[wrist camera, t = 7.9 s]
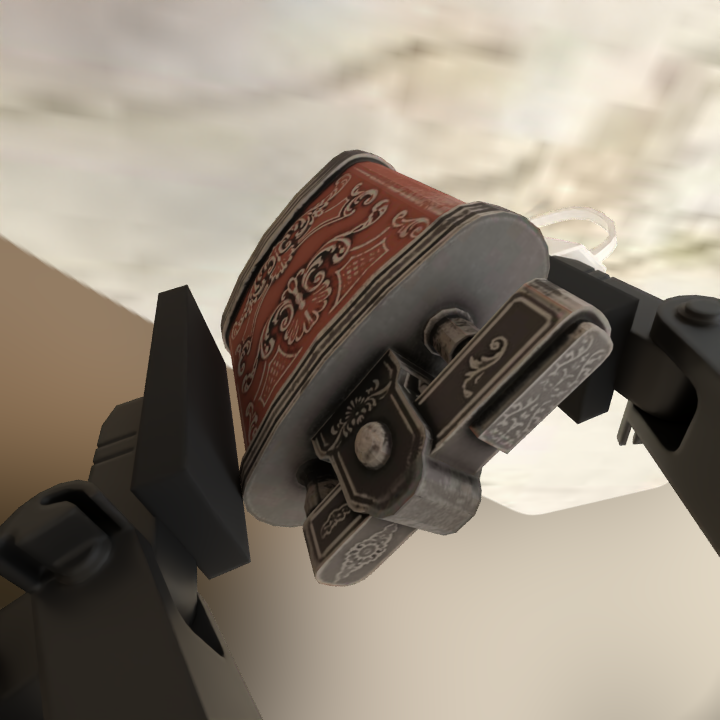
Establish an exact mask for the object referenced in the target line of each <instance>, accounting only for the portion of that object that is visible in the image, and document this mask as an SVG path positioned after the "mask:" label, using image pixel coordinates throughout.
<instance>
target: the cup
mask: <svg viewBox="0 0 720 720" xmlns="http://www.w3.org/2000/svg"><path fill="white" fill-rule="evenodd" d="M571 219H580V220H590V221H592V222H594V223H596V224H598V225H600V226H601V227H602V228H603V229H605V230H606V231H607V232H608V233H609V236H608V237H607V239H606V240H605V242H603V243H601V244H600V245H598V246H596V247H594V248H593V249H591V250H588V249H587V248H586V247H585V246H584V245H583V244H580V243H575V242H571V241H566V240H561V239H556V238H551V237H545V236H543V237H544V239H545V241H546V243H547V245H548V250H549V255H550V256H553V255H556V256H561V257H566V258H570V259H575V260H578V261H580V262H582V263H585V264H587V265H589V266H591V267H593V268H595V271H596V270H600V271H602V272H604V273H605V272H606V267H605V266H604V265H603V264H602V263H601V262H602V261H603V260H604V259H606V258H607V257H608V256H609V255H610V254H611V253H612V252H613V251H614V249H615V248H616V246H617V237H616V230H615V223H614V221H613V220H611V219H610V218H609V217H608V216H606V215H605V214H604V213H603V212H600V211H598V210H596V209H593V208H591V207H579V206H572V207H567V208H561V209H556V210H553V211H550V212H546V213H543V214H540V215H537V216H534V217H531V218H528V220H529V221H530V222H532V223H533V224H534V225H535V226H537V227H538V228H539V227H542V226H546V225H549V224H553V223H556V222H561V221H566V220H571Z"/></svg>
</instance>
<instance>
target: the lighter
mask: <svg viewBox="0 0 720 720" xmlns="http://www.w3.org/2000/svg"><path fill="white" fill-rule="evenodd" d="M549 269H550V263H549V250H548V245H547V243H546V241H545V239H544V237H543V235H542V233H541V231H540V229H539V228H538V227H537V226H535V225H534V224H533V223H532V222H530V221H529V220H528V219H527V218H526V217H524V216H522V215H519V214H517V213H515V212H512V211H510V210H507V209H505V208H502V207H500V206H497V205H493V204H489V203H485V202H480V201H477V202H472V203H465V202H463V201H461V200H458V199H456V198H454V197H452V196H449V195H447V194H445V193H443V192H441V191H438V190H436V189H434V188H432V187H429V186H427V185H425V184H423V183H421V182H418V181H416V180H414V179H412V178H409V177H407V176H405V175H403V174H401V173H398V172H396V170H395V169H394V168H393V166H392V165H391V164H389V163H388V162H386V161H385V160H384V159H382V158H381V157H379V156H376V155H374V154H372V153H368V152H365V151H361V150H350V151H344V152H342V153H341V154H339V155H337V156H336V157H334V158H333V159H332V160H331V161H330V162H329V163H328V164H327V165H326V166H325V167H324V168H323V169H321V170H320V171H319V172H318V173H317V174H316V175H315V176H314V177H313V178H312V179H311V180H310V181H309V182H308V183H307V184H306V185H305V186H304V187H303V188H302V189H301V190H300V191H299V192H298V193H297V194H296V195H295V196H294V197H293V199H292V200H291V201H290V202H289V204H288V205H287V206H286V207H285V209H284V210H283V211H282V212H281V213H280V215H279V216H278V217H277V218H276V220H275V221H274V222H273V223H272V225H271V226H270V227H269V228H268V230H267V231H266V232H265V233H264V235H263V236H262V238H261V240H260V241H259V243H258V245H257V247H256V248H255V250H254V252H253V253H252V255H251V257H250V258H249V260H248V262H247V263H246V265H245V267H244V269H243V270H242V272H241V274H240V275H239V277H238V280H237V282H236V284H235V287H234V289H233V291H232V294H231V296H230V298H229V301H228V303H227V305H226V308H225V310H224V312H223V315H222V320H221V332H222V339H223V342H224V345H225V348H226V350H227V351H228V352H229V353H230V355H231V358H232V365H233V371H234V377H235V385H236V391H237V398H238V404H239V411H240V417H241V424H242V431H243V438H244V444H245V451H246V452H245V454H244V456H243V458H242V462H241V466H240V470H239V473H240V481H241V489H242V497H243V501H244V504H245V506H246V509H247V511H248V512H249V513H250V514H251V515H252V516H254V517H255V518H256V519H257V520H259V521H262V522H264V523H267V524H270V525H273V526H283V527H297V526H303V532H304V536H305V540H306V544H307V548H308V552H309V556H310V560H311V564H312V568H313V572H314V576H315V579H316V580H317V582H318V583H321V584H324V585H329V586H349V585H353V584H356V583H358V582H360V581H362V580H364V579H365V578H367V577H368V576H369V575H370V574H372V572H374V571H375V570H376V569H377V568H378V567H379V566H380V565H381V564H382V563H383V562H384V561H385V560H386V559H387V558H388V557H389V556H391V555H392V554H393V553H394V552H395V551H396V550H397V549H398V548H399V547H400V546H401V545H402V544H403V543H404V542H405V541H406V540H407V539H408V538H409V537H410V536H411V535H412V534H413V533H414V532H415V531H416V530H417V529H421V530H424V531H428V532H432V533H436V534H440V535H447V534H452V533H456V532H457V531H458V530H459V529H460V528H461V527H462V526H463V525H465V524H466V523H467V522H468V521H469V520H470V519H471V518H472V517H473V516H474V515H475V514H476V511H477V509H478V506H479V504H480V502H481V491H482V490H481V484H480V475H481V471H482V467H483V466H484V465H485V464H486V463H487V462H488V461H489V460H490V459H491V458H492V457H493V456H494V455H496V454H497V453H498V452H499V451H500V450H501V451H502V452H504V453H506V454H508V453H509V452H510V451H511V450H512V449H513V448H514V447H515V446H516V445H517V444H518V443H519V442H520V441H521V440H522V439H523V438H524V437H525V436H526V435H527V434H528V433H530V432H531V431H532V430H533V429H534V428H535V427H536V426H537V425H538V424H539V423H540V422H541V421H542V420H543V419H544V418H545V417H546V416H547V415H548V414H549V413H551V412H552V411H553V410H554V409H555V408H556V407H557V406H558V405H559V404H560V403H561V402H562V401H563V400H564V399H565V398H566V397H567V396H568V395H569V394H570V393H572V392H573V391H574V390H575V389H576V388H577V387H578V386H579V385H580V384H581V383H582V382H583V381H584V380H585V379H586V378H587V377H588V376H589V375H590V374H591V373H592V372H594V371H595V370H596V369H597V368H598V367H599V366H600V365H601V364H602V363H603V362H604V360H605V359H606V358H607V357H608V356H609V355H610V353H611V351H612V349H613V343H612V340H611V338H610V333H611V327H610V324H609V322H608V320H607V318H606V317H605V316H604V314H603V313H602V312H601V311H600V310H598V309H597V308H596V307H594V306H592V305H591V304H589V303H587V302H585V301H584V300H582V299H580V298H578V297H576V296H575V295H573V294H571V293H569V292H568V291H566V290H564V289H562V288H560V287H559V286H557V285H555V284H553V283H552V282H550V281H548V280H547V277H548V273H549Z"/></svg>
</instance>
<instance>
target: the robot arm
mask: <svg viewBox="0 0 720 720" xmlns="http://www.w3.org/2000/svg"><path fill="white" fill-rule="evenodd" d="M549 263H550V269H549V273H548V277H547V280H548V281H550V282H552V283H553V284H555V285H557V286H559V287H560V288H562V289H564V290H566V291H568V292H569V293H571V294H573V295H575V296H576V297H578V298H580V299H582V300H584V301H585V302H587V303H589V304H591V305H592V306H594V307H596V308H597V309H598V310H600V311H601V312H602V313H603V314H604V316H605V317H606V318H607V320H608V322H609V324H610V327H611V333H610V338H611V340H612V343H613V349H612V351H611V353H610V355H609V356H608V357H607V358H606V359H605V360H604V362H603V363H602V364H601V365H600V366H599V367H598V368H597V369H596V370H595V371H594V372H592V373H591V374H590V375H589V376H588V377H587V378H586V379H585V380H584V381H583V382H582V383H581V384H580V385H579V386H578V387H577V388H576V389H575V390H574V391H573V392H572V393H570V394H569V395H568V396H567V397H566V398H565V399H564V400H563V401H562V402H561V403H560V404H559V405H558V407H559V408H560V409H561V410H562V411H563V412H565V413H566V414H567V415H568V416H569V417H570V418H571V419H572V420H573V421H575V422H576V423H577V424H579V423H582V422H584V421H586V420H589V419H591V418H593V417H596V416H598V415H601V414H603V413H605V412H608V410H609V406H610V403H611V399H612V395H613V392H614V390H616V391H617V392H618V393H620V394H621V395H622V396H624V397H625V398H626V399H628V402H627V406H626V409H625V412H624V415H623V418H622V421H621V424H620V428H619V431H618V434H617V439H618V442H619V445H620V446H622V445H626V442H627V439H628V436H629V433H630V430H631V427H632V428H633V429H634V431H635V433H634V436H633V444H644V446H645V447H646V449H647V450H648V452H649V453H650V455H651V456H652V458H653V459H654V461H655V462H656V463H657V465H658V466H659V468H660V469H661V471H662V472H663V474H664V475H665V477H666V478H667V480H668V481H669V483H670V484H671V486H672V487H673V489H674V490H675V492H676V493H677V495H678V496H679V498H680V499H681V501H682V502H683V503H684V505H685V506H686V508H687V509H688V511H689V512H690V514H691V515H692V517H693V518H694V520H695V521H696V523H697V524H698V526H699V527H700V529H701V530H702V532H703V533H704V535H705V536H706V538H707V539H708V541H709V542H710V544H711V545H712V547H713V548H714V549H715V551H716V552H717V554H718V555H719V557H720V299H717V298H714V297H707V296H699V295H685V296H676V297H672V298H668V299H666V300H661V299H659V298H657V297H655V296H653V295H651V294H649V293H647V292H644V291H642V290H640V289H638V288H636V287H634V286H632V285H629V284H627V283H625V282H623V281H621V280H619V279H617V278H614V277H611V278H610V277H609V275H608V274H606V273H604V272H602V271H600V270H596V271H595V268H593V267H591V266H589V265H587V264H585V263H582V262H580V261H578V260H575V259H570V258H566V257H561V256H556V255H553V256H550V255H549ZM97 446H98V449H96V451H95V455H94V459H93V463H94V465H93V466H92V467H91V471H90V475H89V479H88V482H87V481H82V480H75V481H70V482H65V483H60V484H58V485H56V486H53V487H51V488H49V489H47V490H45V491H43V492H40V493H39V494H37V495H36V496H34V497H33V498H32V499H30V500H29V501H27V502H26V503H25V504H23V505H22V506H20V507H19V508H18V509H17V510H16V511H15V512H14V513H13V514H12V515H11V516H10V517H9V518H8V519H7V520H6V521H5V522H4V523H3V524H2V525H1V526H0V575H1V576H2V577H4V578H6V579H7V580H9V581H10V582H12V583H13V584H15V585H16V586H18V587H20V588H21V589H23V590H24V591H26V593H25V594H23V595H22V596H21V597H19V598H18V599H16V600H15V601H13V602H12V603H10V604H9V605H7V606H6V607H4V608H3V609H1V610H0V720H263V719H262V717H261V715H260V713H259V710H258V708H257V706H256V704H255V702H254V700H253V698H252V696H251V694H250V692H249V690H248V687H247V685H246V683H245V681H244V679H243V677H242V675H241V673H240V671H239V669H238V666H237V664H236V662H235V660H234V658H233V656H232V654H231V652H230V650H229V648H228V645H227V644H226V641H225V639H224V637H223V635H222V633H221V631H220V629H219V627H218V625H217V623H216V621H215V618H214V616H213V614H212V612H211V610H210V608H209V606H208V604H207V602H206V601H205V600H204V599H203V597H201V596H200V594H199V593H198V592H197V566H198V568H199V569H200V570H201V571H202V572H203V573H204V574H205V576H206V577H207V578H208V579H211V578H214V577H217V576H219V575H221V574H224V573H226V572H228V571H231V570H233V569H236V568H238V567H240V566H243V565H245V564H247V563H250V562H251V561H250V553H249V546H248V538H247V529H246V521H245V513H244V505H243V497H242V489H241V481H240V474H239V466H238V458H237V450H236V442H235V434H234V426H233V419H232V411H231V402H230V395H229V387H228V379H227V371H226V364H225V362H224V359H223V357H222V355H221V353H220V351H219V349H218V347H217V345H216V343H215V341H214V339H213V337H212V335H211V333H210V330H209V328H208V326H207V324H206V322H205V320H204V318H203V316H202V314H201V312H200V310H199V308H198V306H197V304H196V301H195V299H194V297H193V295H192V293H191V291H190V289H189V287H188V285H185V286H181V287H178V288H175V289H171V290H168V291H165V292H161V293H159V294H158V301H157V307H156V314H155V321H154V328H153V335H152V342H151V349H150V356H149V363H148V370H147V377H146V383H145V391H144V397H140V398H138V399H135V400H132V401H129V402H126V403H123V404H120V405H117V406H116V407H115V408H114V410H113V411H112V412H111V414H110V415H109V417H108V418H107V420H106V421H105V422H104V423H103V425H102V428H101V431H100V435H99V439H98V443H97Z"/></svg>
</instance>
